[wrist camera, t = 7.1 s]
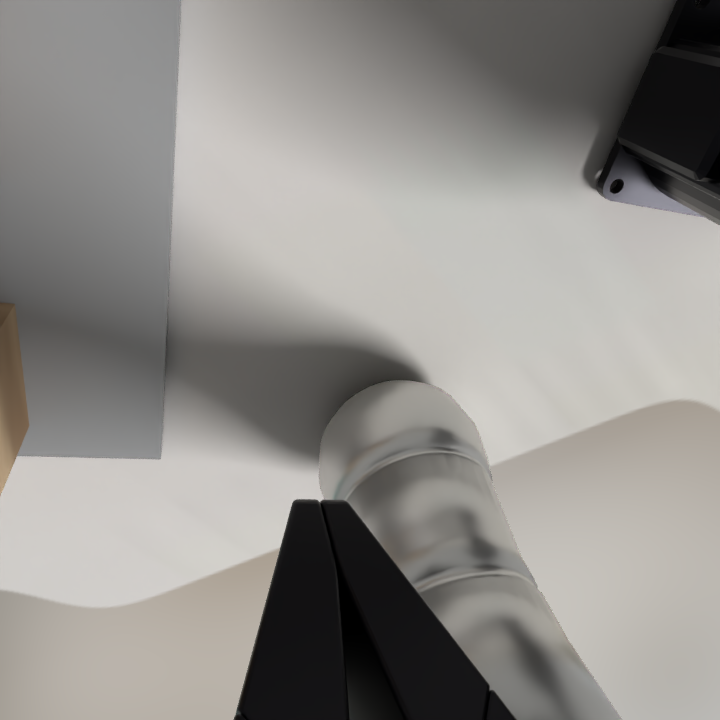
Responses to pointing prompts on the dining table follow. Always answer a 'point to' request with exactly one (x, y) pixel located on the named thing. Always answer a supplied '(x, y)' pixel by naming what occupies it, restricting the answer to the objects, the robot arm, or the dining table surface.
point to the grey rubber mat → (89, 217)
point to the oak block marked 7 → (11, 392)
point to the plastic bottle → (455, 542)
